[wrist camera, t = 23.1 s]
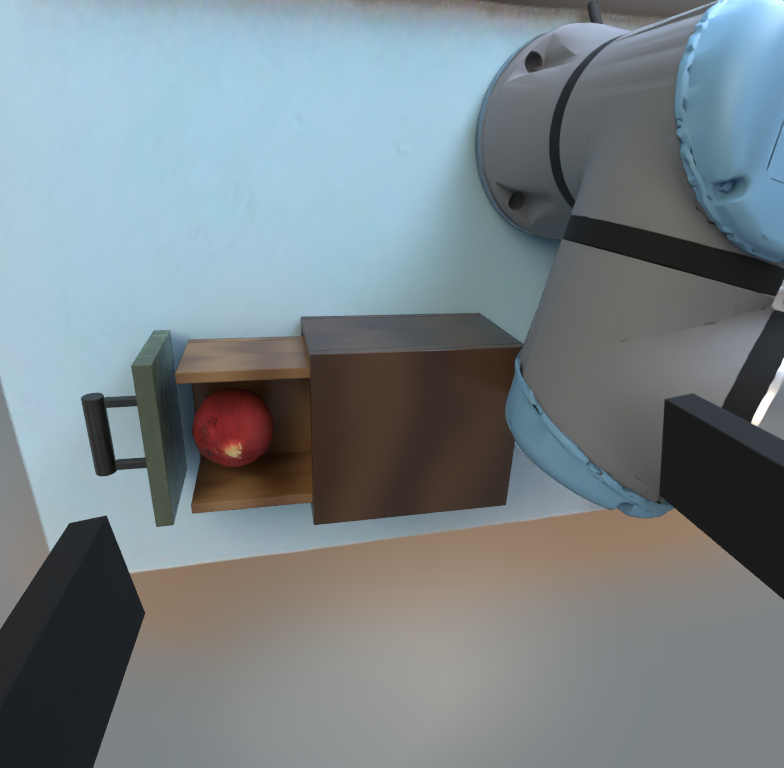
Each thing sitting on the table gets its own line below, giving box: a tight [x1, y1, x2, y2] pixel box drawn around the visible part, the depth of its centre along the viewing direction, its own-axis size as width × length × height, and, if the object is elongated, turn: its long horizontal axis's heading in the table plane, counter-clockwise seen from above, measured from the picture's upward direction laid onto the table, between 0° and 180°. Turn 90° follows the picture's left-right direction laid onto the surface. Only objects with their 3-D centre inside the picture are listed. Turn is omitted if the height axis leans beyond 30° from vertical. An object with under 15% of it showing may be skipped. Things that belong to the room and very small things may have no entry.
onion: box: [192, 388, 274, 467], centre depth 40 cm, size 6×6×8 cm
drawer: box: [81, 330, 313, 527], centre depth 41 cm, size 19×12×8 cm, turn 88°
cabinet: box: [301, 313, 524, 525], centre depth 44 cm, size 16×14×10 cm
